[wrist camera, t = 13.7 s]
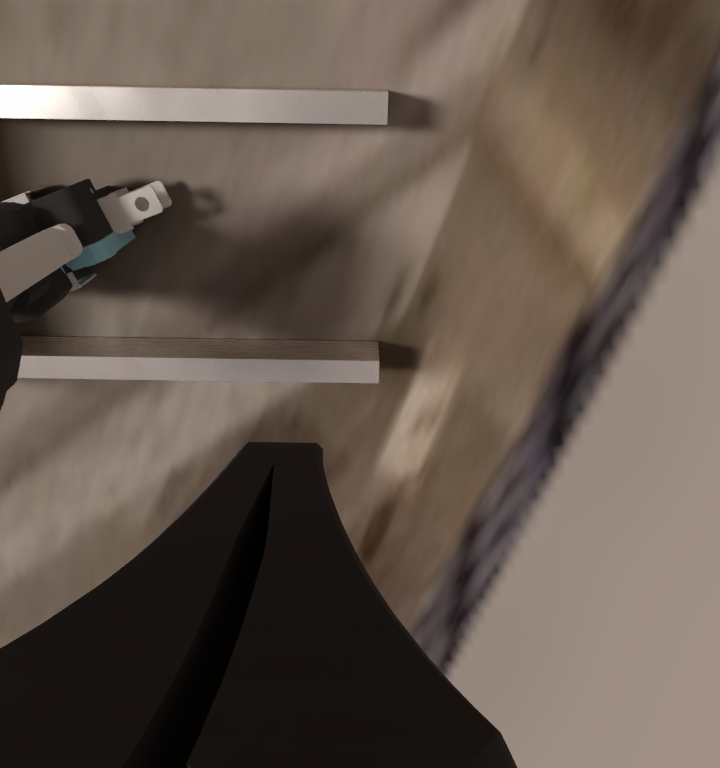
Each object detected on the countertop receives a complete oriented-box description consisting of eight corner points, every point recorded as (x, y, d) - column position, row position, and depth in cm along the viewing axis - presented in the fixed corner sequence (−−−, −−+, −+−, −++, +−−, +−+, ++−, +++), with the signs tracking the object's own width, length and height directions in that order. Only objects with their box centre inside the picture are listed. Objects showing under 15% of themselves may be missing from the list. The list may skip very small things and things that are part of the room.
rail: (377, 362, 21) (381, 438, 17) (-94, 355, 21) (-213, 430, 17) (386, 90, 18) (395, 96, 13) (-190, 79, 17) (-379, 82, 13)
